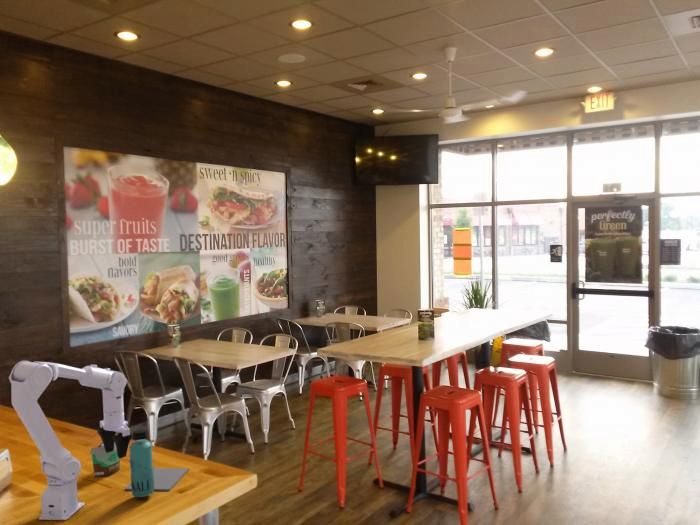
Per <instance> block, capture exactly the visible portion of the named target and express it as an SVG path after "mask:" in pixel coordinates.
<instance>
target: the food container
mask: <svg viewBox="0 0 700 525" xmlns="http://www.w3.org/2000/svg"><path fill="white" fill-rule="evenodd" d="M89 455H91V460H92V467H93V475H94V476H93V477H94V478H104V477H109V476H113V475H114V474H117V473H118V472H119V471H120V468H121V467H120V466H121V464H120V463H121V458H118V455H117V449H116V445H115V442H114V450H113V451H112V452H108V453H106V451H105V448H104V445H103V442H102V443H100V444H99V445H98V446H96V447H93V446H92V447H90V451H89ZM116 472H117V473H116Z"/></svg>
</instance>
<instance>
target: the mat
mask: <svg viewBox="0 0 700 525" xmlns="http://www.w3.org/2000/svg"><path fill="white" fill-rule="evenodd" d="M153 470H154V471H153V473H154V474H153V476H154V490H159V491H158V492H170V491H171V490H172V489H173V488H174V487H175V486H176V485H177V484H178V483H179V482H180V480H181V479H182V478H183V477H184V476H185V475H186V474H187V473H188V472H189V471H190V468H189V467H187V468H185V467H184V468H180V467H178V468H177V467H153ZM186 472H187V473H186ZM124 491H132V486H131V482H130V483H129V484H128V485H127V486H126V487H125V488H124Z"/></svg>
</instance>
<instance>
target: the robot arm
mask: <svg viewBox="0 0 700 525" xmlns="http://www.w3.org/2000/svg"><path fill="white" fill-rule="evenodd" d="M58 378H64V379H72V380H77V381H78V382H79V384H80V385H81V386H84V387H89V388H95V389H100V390H101V392H102V407H103V409H102V410H103V420H100V421H99V427H100V428H101V429H98V430H97V431H96V432H97V434H98V435H99V437H100V439H101V441H102V443H103V445H104V448H105V451H106V453H108V452H112V451H113V450H114V442H115V445H116V449H117V455H118V458H120V459H123V458H125V457H127V454H128V453H127V452H128V447H129V446H130V441H131V440H132V439H133V432H131V430H130V428H129V427H128V424H129V422H128V421H127V420H125V409H124V408H125V407H124V394H125V387H126V385H127V383H128V379H127V378H126V377H125V375H124V374H123V372H121V371H115V370H111V368H109V367H105V368H101V367H98V365H97V364H90V365H86V366H84V367H82V368H79V367H74V366H69V365H65V364H61V363H56V362H48V361H33V362H31V361H29V360H21V361H19V362H17V363H15V365H14V366H13V368H12V369H11V373H10V374H9V376H8V380H9V382H10V384H11V392H10V393H11V406H12V407H13V409H14V410H15V413H16V414H17V416H18V418H19V419H20V420H21V423H22V424H23V426H24V427H25V429H26V432H27V433H28V434H29V436H30V437H31V439H32V441H33V442H34V445H35V446H36V447H37V449H38V451H39V453H40V456H39V461H40V464H41V472H42V473H43V475H44V476H46V480H47V484H46V488H45V489H44V491H43V492H42V494H41V495H40V507H41V508H40V509H41V515H40V516H39V517H38V519H39V520H41V521H43V520H45V521H48V520H49V521H66V520H68V519H69V518H71V517H72V516H73V515H74V514H75V513H76V512H78V511H79V510H80V509H81V508H82V507H83V506H85V502H78V501H79V500H78V485H77V483H78V482H77V480H78V477H79V475H80V473H81V470H82V464H81V461H80V460H79V459H78V458H75V457H74V456H73V454H72V453H71V452H70V451H69V450H68V449H67V448H65V447H64V446H63V445H62V443H61V441H60V439H59V438H58V437H57V435H56V432H55V431H54V429H53V427H52V426H51V424H50V422H49V420H48V419H47V417H46V415H45V413H44V411H43V409H42V408H41V406H40V404H39V402H38V399H40V397H41V395H42V394H43V392H45V390H46V388H47V387H48V386H49V384H50V383H51V381H53V382H54V381H56V380H57V379H58ZM116 433H117V434H116Z"/></svg>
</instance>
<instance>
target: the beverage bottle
mask: <svg viewBox="0 0 700 525" xmlns="http://www.w3.org/2000/svg"><path fill="white" fill-rule="evenodd" d="M132 433H133V436H132V440H135V441H133V442H132V443H131V444H129V446H128V447H129V467H130V483H131V486H132V490H131V491H130V493H131V494H132V496H133V497H136V498H143V497H146V496H150V495H152V494H153V493H154V492H155V491H154V476H153V474H154V473H153V471H154V470H153V468H154V467H153V466H154V464H153V462H154V461H153V443H152V442H151V441H149V440H148V439H147V438H148V437H149V434H148V430H147V429H146V428H138V429H134V430H133V432H132Z"/></svg>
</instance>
